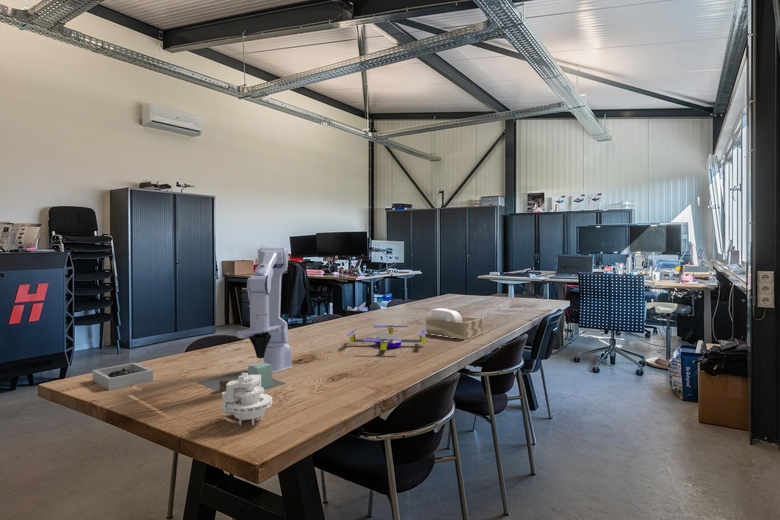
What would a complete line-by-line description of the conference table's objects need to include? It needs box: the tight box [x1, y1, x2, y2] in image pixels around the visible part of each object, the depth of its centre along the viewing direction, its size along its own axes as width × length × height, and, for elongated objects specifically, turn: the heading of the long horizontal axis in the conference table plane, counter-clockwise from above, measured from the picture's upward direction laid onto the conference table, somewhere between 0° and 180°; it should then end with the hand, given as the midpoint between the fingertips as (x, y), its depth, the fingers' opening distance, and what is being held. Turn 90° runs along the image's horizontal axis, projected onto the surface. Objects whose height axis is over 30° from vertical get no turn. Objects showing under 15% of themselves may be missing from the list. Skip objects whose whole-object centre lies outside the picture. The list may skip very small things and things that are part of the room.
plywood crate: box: [425, 315, 483, 339], centre depth 222 cm, size 17×22×8 cm
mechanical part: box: [221, 373, 273, 426], centre depth 113 cm, size 11×12×12 cm
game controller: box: [108, 369, 130, 378], centre depth 150 cm, size 10×5×6 cm
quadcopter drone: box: [346, 324, 427, 351], centre depth 198 cm, size 34×33×5 cm
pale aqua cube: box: [247, 361, 273, 388], centre depth 140 cm, size 5×5×7 cm
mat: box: [196, 369, 288, 394], centre depth 143 cm, size 18×24×1 cm
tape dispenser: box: [431, 307, 463, 323], centre depth 222 cm, size 16×10×13 cm, turn 40°
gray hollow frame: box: [92, 362, 154, 391], centre depth 149 cm, size 13×16×4 cm
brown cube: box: [219, 379, 232, 392], centre depth 136 cm, size 3×3×3 cm
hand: (260, 357), depth 139 cm, fingers closed
